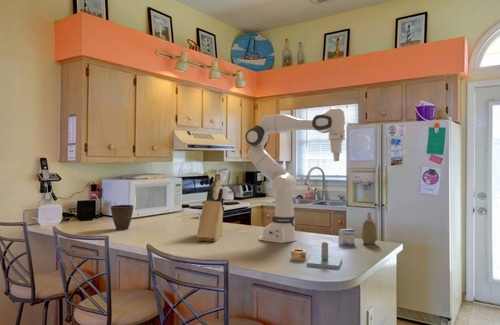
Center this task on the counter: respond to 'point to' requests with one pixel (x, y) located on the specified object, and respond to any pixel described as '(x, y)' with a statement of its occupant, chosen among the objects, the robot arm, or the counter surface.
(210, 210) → the knife block
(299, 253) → the copper ring
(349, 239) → the medicine box
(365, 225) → the squeeze bottle
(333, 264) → the post base
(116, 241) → the counter surface
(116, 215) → the plant pot
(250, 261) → the counter surface
